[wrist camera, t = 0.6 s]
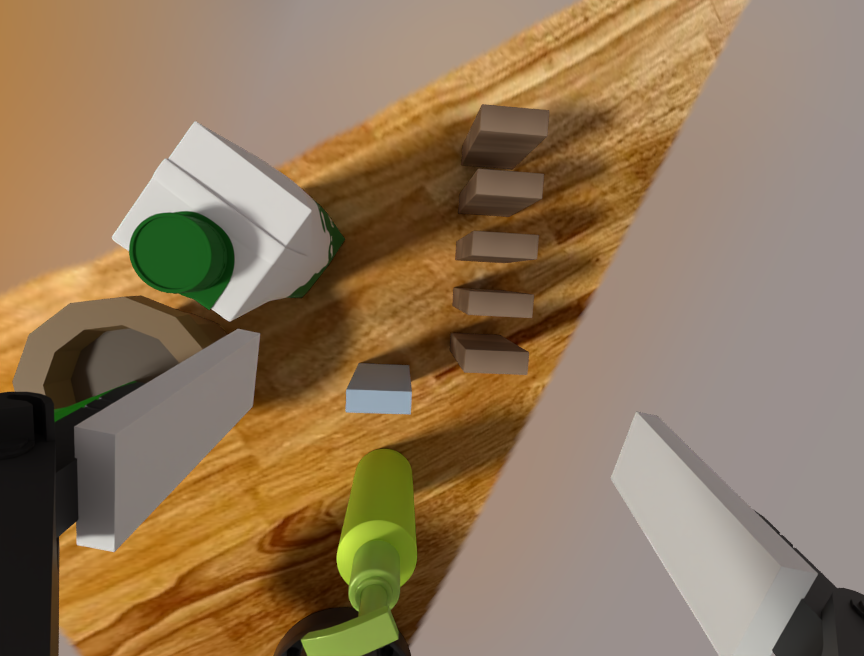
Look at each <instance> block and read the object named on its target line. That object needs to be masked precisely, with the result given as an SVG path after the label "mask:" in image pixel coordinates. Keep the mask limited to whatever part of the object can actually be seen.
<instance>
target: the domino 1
mask: <svg viewBox="0 0 864 656" xmlns="http://www.w3.org/2000/svg"><path fill="white" fill-rule="evenodd" d="M411 396H412V390H411V379H410V369H409V365H391V364H367V363H359V364H358V366H357V368H356V370H355V372H354V375H353V377H352V379H351V381H350V383H349V385H348V387H347V389H346V412H354V413H385V414H411Z"/></svg>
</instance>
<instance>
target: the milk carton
mask: <svg viewBox="0 0 864 656" xmlns="http://www.w3.org/2000/svg"><path fill="white" fill-rule="evenodd" d="M112 239H113V240H114V241H115V242H116V243H118V244H119V245H121V246H122V247H124V248H125V249H127V250H128V251H129V255H130V260H131V263H132V266H133V268H134V270H135V272H136V273H137V275H138V276H139V277H140V278H141V279H142V280H143V281H144V282H145V283H146V284H148V285H149V286H151V287H152V288H154V289H156V290H159V291H161V292H167V293H173V294H175V293H179V294H181V295H183V296H186V297H189V298H192V299H194V300H196V301H197V302H198V303H200V304H201V305H203V306H204V307H205V308H207V309H208V310H210V309H212V310H213V311H215V312H216V313H218V314H219V315H220V316H222V317H223V318H224V319H226V320H227V321H229V322H231V321H232V320H234V319H236V318H238V317H240V316H242V315H244V314H246V313H247V312H249V311H251V310H253V309H255V308H257V307H259V306H261V305H263V304H264V303H266V302H268V301H272V300H277V299H282V298H302V297H303V296H304V295H305V294H306V293H307V292H308V290H309V289H310V288H311V287H312V286H313V284H314V283H315V282H316V281H317V279H318V278H319V277H320V275H321V274H322V273H323V272H324V270H325V269H326V268H327V266H328V265H329V264H330V262H331V261H332V259H333V258H334V256H335V254H336V253H337V251H338V250H339V248H340V247H341V245H342V244H343V242H344V241H345V238H344V237H343V235H342V234H341V233H340V231H339V230H338V228H337V227H336V225H335V224H334V222H333V221H332V220H331V218H330V217H329V215H328V214H327V212H326V211H325V210H324V209H323V208H322V207H321V206H320V205H319V204H318V203H317V202H316V201H315V200H314V199H312V198H311V197H310V196H309V195H308V194H307V193H306V192H305V191H303V190H302V189H301V188H300V187H299V186H298V185H297V184H295V183H294V182H293V181H292V180H291V179H289V178H288V177H287V176H285V175H284V174H282V173H281V172H279V171H278V170H276V169H275V168H273V167H272V166H270V165H269V164H268V163H266V162H265V161H263V160H262V159H260V158H259V157H257V156H255V155H253V154H252V153H250V152H248V151H246V150H245V149H243V148H241V147H239V146H238V145H236V144H234V143H232V142H231V141H229V140H227V139H225V138H224V137H222V136H220V135H218V134H216V133H215V132H213V131H211V130H210V129H208V128H206V127H204V126H203V125H201V124H199V123H198V122H196V121H195V122H194V123H193V124H192V126H191V127H190V129H189V130H188V131H187V133H186V134H185V136H184V137H183V138H182V140H181V141H180V143H179V144H178V146H177V147H176V148H175V150H174V151H173V153H172V154H171V156H170V157H169V158H168V159H164V160H163V161H162V163H161V164H160V165H159V167H158V168H157V170H156V171H155V173H154V174H153V177H152V179H151V180H150V182H149V183H148V185H147V186H146V188H145V189H144V190H143V192H142V193H141V195H140V196H139V198H138V199H137V201H136V202H135V204H134V205H133V207H132V208H131V210H130V211H129V213H128V214H127V215H126V217H125V218H124V220H123V221H122V223H121V224H120V226H119V227H118V229H117V230H116V232H115V233H114V234H113V236H112Z"/></svg>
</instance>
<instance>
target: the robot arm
mask: <svg viewBox="0 0 864 656" xmlns="http://www.w3.org/2000/svg"><path fill="white" fill-rule="evenodd" d="M259 342H260V333H256V332H251V331H247V330H242V329H236V330H235V331H233V332H231V333H230V334H228V335H226V336H225V337H223V338H221V339H220V340H218V341H216V342H215V343H213V344H211V345H210V346H208V347H206V348H205V349H203V350H201V351H200V352H198V353H196V354H195V355H193V356H191V357H190V358H188V359H186V360H185V361H183V362H181V363H180V364H178V365H176V366H175V367H173V368H171V369H170V370H168V371H166V372H165V373H163V374H161V375H159V376H158V377H156V378H154V379H153V380H151V381H149V382H148V383H142V382H135V383H132V384H128V385H125V386H122V387H118V388H115V389H113V390H112V391H110V392H108V393H106V394H104V395H103V396H101V397H99V399H98V400H96V399H95V400H94V401H92V402H90V403H88V404H87V405H85V407H84V408H82V407H81V408H79V409H78V410H76V411H74V412H72V413H70V414H69V415H67V416H65V417H63V418H61V419H60V420H58V421H56V422H55V420H54V403H53V401H52V399H51V398H50V397H48V396H45V395H43V394H40V393H33V392H4V393H0V656H58V650H59V648H58V647H59V645H58V644H59V536H60V535H61V534H62V533H63V532H65V531H66V530H67V529H68V528H69V527H70V526H72V525H73V524H74V523H75V522H76V529H77V545H80V546H86V547H91V548H96V549H102V550H107V551H112V552H115V551H116V550H117V549H118V548H119V547H120V546H121V544H122V543H123V542H124V541H125V540H126V539H127V538H128V537H129V536H130V535H131V534H132V533H133V532H134V531H135V530H136V529H137V528H138V527H139V526H140V524H141V523H142V522H143V521H144V520H145V519H146V518H147V517H148V516H149V515H150V514H151V513H152V512H153V511H154V510H155V509H156V508H157V507H158V506H159V504H160V503H161V502H162V501H163V500H164V499H165V498H166V497H167V496H168V495H169V494H170V493H171V492H172V491H173V490H174V489H175V488H176V487H177V486H178V484H179V483H180V482H181V481H182V480H183V479H184V478H185V477H186V476H187V475H188V474H189V473H190V472H191V471H192V470H193V469H194V468H195V467H196V466H197V464H198V463H199V462H200V461H201V460H202V459H203V458H204V457H205V456H206V455H207V454H208V453H209V452H210V451H211V450H212V449H213V448H214V447H215V446H216V444H217V443H218V442H219V441H220V440H221V439H222V438H223V437H224V436H225V435H226V434H227V433H228V432H229V431H230V430H231V429H232V428H233V427H234V426H235V424H236V423H237V422H238V421H239V420H240V419H241V418H242V417H243V416H244V415H245V414H246V413H247V412H248V411H249V410H250V409H251V408H252V407H253V399H254V390H255V380H256V371H257V361H258V351H259ZM611 480H612V482H613V483H614V485H615V486H616V488H617V490H618V491H619V493H620V495H621V496H622V498H623V499H624V501H625V503H626V504H627V506H628V508H629V509H630V511H631V513H632V514H633V516H634V518H635V519H636V521H637V522H638V524H639V526H640V527H641V529H642V530H643V532H644V534H645V535H646V537H647V538H648V540H649V542H650V544H651V545H652V547H653V548H654V550H655V552H656V553H657V555H658V557H659V558H660V560H661V562H662V563H663V565H664V566H665V568H666V570H667V571H668V573H669V574H670V576H671V578H672V580H673V581H674V583H675V584H676V586H677V588H678V589H679V591H680V593H681V594H682V596H683V598H684V599H685V601H686V602H687V604H688V606H689V607H690V609H691V611H692V612H693V614H694V615H695V617H696V619H697V620H698V622H699V624H700V625H701V627H702V629H703V630H704V632H705V633H706V635H707V637H708V638H709V640H710V642H711V643H712V645H713V647H714V648H715V650H716V651H717V653H718V655H719V656H771V655H772V653H774V654H775V655H776V656H864V595H863V594H860V593H858V592H856V591H853V590H849V589H845V588H836V587H835V586H834V585H833V584H832V583H831V582H830V581H829V580H828V579H827V578H826V577H825V576H824V575H823V574H822V573H821V572H820V571H819V570H818V569H817V568H816V567H815V566H814V565H813V564H812V563H811V562H810V561H809V560H808V559H807V558H806V557H804V556H803V554H801V553H800V552H799V551H798V550H797V549H796V548H793V545H792V544H791V543H790V542H789V541H788V540H787V539H786V538H785V537H784V536H783V535H780V534H779V533H780V532H779V531H778V530H777V529H776V528H775V527H774V526H773V525H772V524H771V523H770V522H769V521H768V520H766V519H765V518H764V517H763V516H762V515H760V514H759V513H757V512H756V511H755V510H753V509H752V508H751V507H750V506H749V505H748V504H747V503H746V502H745V501H744V500H743V499H741V498H740V496H738V494H737V493H735V492H734V491H733V490H732V489H731V488H730V487H729V486H728V485H727V484H726V483H725V482H724V481H723V480H722V479H721V478H720V477H719V476H718V475H717V474H716V473H715V472H714V471H713V470H712V469H711V468H710V467H709V466H708V465H707V464H706V463H705V462H704V461H703V460H702V459H701V458H700V457H699V456H698V455H697V454H696V453H695V452H694V451H693V450H692V449H691V448H689V446H688V445H687V444H685V443H684V441H683V440H682V439H681V438H680V437H679V436H678V435H677V434H675V433H674V432H673V431H672V430H671V429H670V428H669V427H668V426H667V425H666V424H665V423H664V422H663V421H662V420H661V419H660V418H659V417H658V416H656V415H651V414H646V413H641V412H636V414H635V416H634V419H633V421H632V424H631V427H630V429H629V432H628V435H627V438H626V440H625V443H624V445H623V448H622V451H621V453H620V456H619V458H618V461H617V464H616V466H615V469H614V471H613V474H612V477H611ZM358 614H359V612H358V611H357V610H356V609H355V608H348V607H342V608H332V609H327V610H323V611H320V612H317V613H314V614H312V615H310V616H308V617H306V618H304V619H303V620H301V621H300V622H298V623H297V624H296V625H294V626H293V627H292V628H291V629H290V630H289V631H288V632H287V633H286V634H285V636H284V637H283V638H282V640H281V641H280V643H279V644H278V646H277V648H276V651H275V653H274V656H307V654H306V652H305V649H304V647H303V644H302V642H301V639H302V638H303V637H304V636H305V635H306V634H307V633H309V632H313V631H318V630H323V629H327V628H330V627H333V626H336V625H339V624H342V623H344V622H347V621H349V620H352V619H354V618H357V617H358ZM361 656H411V653H410V650H409V647H408V645H407V643H406V641H405V639H404V637H403V636H402V634H401V633H400V632H399V639H398V640H396V641H394V642H392V643H389V644H387V645H385V646H383V647H380V648H378V649H376V650H374V651H371V652H369V653H366V654H364V655H361Z"/></svg>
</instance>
